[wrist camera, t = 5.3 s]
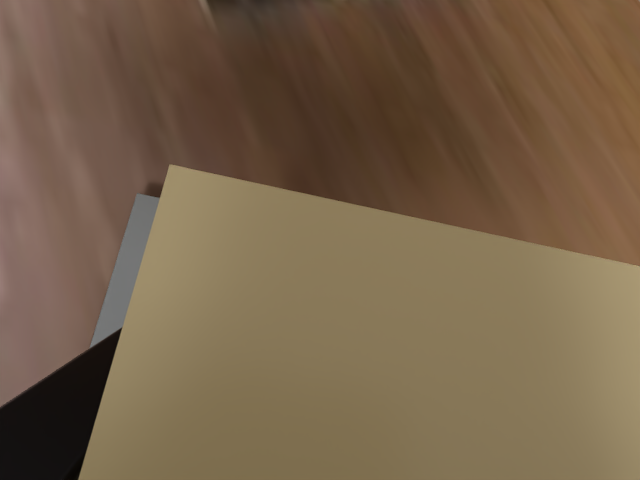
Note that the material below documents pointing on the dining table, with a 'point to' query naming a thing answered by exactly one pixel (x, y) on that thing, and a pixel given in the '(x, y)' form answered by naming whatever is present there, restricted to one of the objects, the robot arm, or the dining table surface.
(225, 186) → the white tall block
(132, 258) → the grey square socket base
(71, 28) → the dining table surface
